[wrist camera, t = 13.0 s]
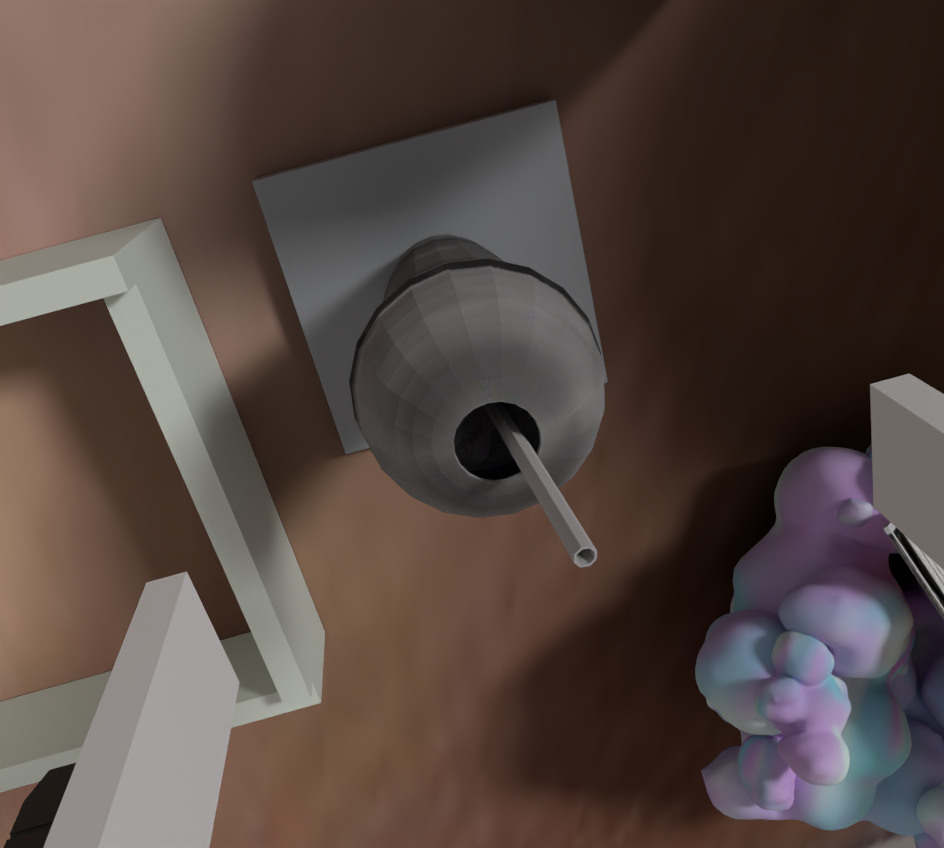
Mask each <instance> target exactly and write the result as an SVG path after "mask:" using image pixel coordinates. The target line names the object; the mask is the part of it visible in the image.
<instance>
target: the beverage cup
mask: <svg viewBox="0 0 944 848" xmlns="http://www.w3.org/2000/svg"><path fill="white" fill-rule="evenodd" d="M349 384H350V391H351V398H352V405H353V411H354V418H355V421H356V422H357V424H358V426H359V428H360V430H361V432H362V434H363V436H364V438H365V440H366V441H367V443H368V445H369V447H370V449H371V451H372V453H373V454H374V456H375V458H376V460H377V462H378V464H379V465H380V467H381V469H382V470H383V471H384V472H385V473H386V474H387V475H388V476H390V477H391V478H392V479H393V480H394V481H395V482H396V483H397V484H398V485H399V486H400V487H401V488H402V489H403V490H404V491H405V492H406V493H407V494H409V495H410V496H412V497H413V498H415V499H417V500H419V501H421V502H423V503H426V504H428V505H430V506H432V507H434V508H436V509H438V510H440V511H442V512H445V513H451V514H458V515H464V516H471V517H477V518H482V517H490V516H498V515H506V514H514V513H516V512H518V511H521V510H523V509H526V508H528V507H530V506H533V505H535V504H537V503H540V505H541V506H542V508H543V510H544V512H545V513H546V515H547V517H548V519H549V520H550V522H551V524H552V525H553V527H554V529H555V531H556V532H557V534H558V536H559V538H560V539H561V541H562V543H563V545H564V546H565V548H566V550H567V551H568V553H569V555H570V557H571V558H572V560H573V562H574V563H575V564H576V565H578V566H579V567H587V566H590V565H591V564H592V563H593V562H594V561H596V560H597V550H596V549H595V547H594V545H593V544H592V542H591V541H590V539H589V537H588V536H587V534H586V533H585V531H584V529H583V528H582V526H581V525H580V523H579V521H578V520H577V518H576V517H575V515H574V513H573V512H572V510H571V509H570V507H569V505H568V504H567V502H566V501H565V499H564V497H563V496H562V494H561V493H560V491H559V488H560V487H562V486H563V485H564V484H565V483H567V482H568V481H569V480H570V479H572V478H573V476H574V475H575V474H576V472H577V471H578V469H579V468H580V466H581V465H582V464H583V462H584V461H585V459H586V458H587V456H588V455H589V453H590V452H591V451H592V449H593V446H594V442H595V439H596V436H597V433H598V430H599V426H600V423H601V420H602V417H603V414H604V410H605V395H604V369H603V364H602V357H601V350H600V348H599V345H598V342H597V340H596V337H595V334H594V332H593V329H592V326H591V323H590V321H589V318H588V316H587V315H586V314H585V313H584V312H583V311H582V309H581V308H580V307H579V306H578V305H577V303H576V302H575V301H574V300H573V299H572V297H571V296H570V295H569V294H568V293H567V291H566V290H565V289H564V288H563V287H561V286H560V285H558V284H556V283H555V282H553V281H551V280H550V279H548V278H546V277H545V276H543V275H541V274H540V273H538V272H536V271H535V270H533V269H531V268H530V267H526V266H521V265H517V264H512V263H508V262H504V261H503V260H501V259H500V258H499V257H497V256H496V255H495V254H493V253H492V252H490V251H489V250H487V249H486V248H484V247H482V246H481V245H479V244H477V243H476V242H474V241H472V240H469V239H467V238H464V237H460V236H455V235H451V234H445V235H435V236H430V237H428V238H426V239H423V240H421V241H419V242H417V243H415V244H414V245H413V246H412V247H410V248H409V249H408V250H407V251H406V252H405V253H404V254H403V255H402V256H401V258H400V260H399V262H398V263H397V265H396V267H395V269H394V271H393V272H392V274H391V276H390V278H389V281H388V285H387V288H386V292H385V295H384V299H383V302H382V304H380V305H379V306H378V307H377V308H376V310H375V312H374V313H373V315H372V317H371V319H370V320H369V322H368V324H367V326H366V327H365V329H364V331H363V333H362V334H361V336H360V338H359V340H358V341H357V343H356V348H355V353H354V358H353V364H352V369H351V374H350V379H349Z"/></svg>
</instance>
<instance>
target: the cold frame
mask: <svg viewBox="0 0 944 848" xmlns="http://www.w3.org/2000/svg"><path fill="white" fill-rule="evenodd" d="M101 298H103V299H104V301H105V303H106V306H107V308H108V310H109V312H110V315H111V317H112V319H113V321H114V324H115V326H116V328H117V330H118V333H119V335H120V337H121V339H122V342H123V344H124V346H125V348H126V351H127V353H128V355H129V358H130V360H131V362H132V364H133V367H134V369H135V371H136V373H137V376H138V378H139V380H140V382H141V385H142V387H143V389H144V391H145V394H146V396H147V398H148V400H149V403H150V405H151V407H152V409H153V412H154V414H155V416H156V418H157V421H158V423H159V425H160V427H161V430H162V432H163V434H164V436H165V439H166V441H167V443H168V445H169V448H170V450H171V452H172V454H173V457H174V459H175V461H176V463H177V466H178V468H179V470H180V472H181V475H182V477H183V479H184V481H185V484H186V486H187V488H188V490H189V493H190V495H191V497H192V500H193V502H194V504H195V506H196V509H197V511H198V513H199V515H200V518H201V520H202V522H203V524H204V527H205V529H206V531H207V533H208V536H209V538H210V540H211V542H212V545H213V547H214V549H215V551H216V554H217V556H218V558H219V560H220V563H221V565H222V567H223V569H224V572H225V574H226V576H227V578H228V581H229V583H230V585H231V587H232V590H233V592H234V594H235V596H236V599H237V601H238V603H239V605H240V608H241V610H242V612H243V614H244V617H245V619H246V621H247V623H248V626H249V628H250V630H251V632H249V633H245V634H241V635H238V636H234V637H231V638H227V639H224V640H220V642H221V644H222V646H223V649H224V651H225V653H226V655H227V657H228V659H229V661H230V663H231V665H232V667H233V670H234V672H235V674H236V676H237V678H238V680H239V687H238V693H237V698H236V704H235V709H234V715H233V720H232V726H231V728H232V727H236V726H240V725H243V724H247V723H250V722H254V721H257V720H261V719H265V718H268V717H272V716H275V715H279V714H282V713H286V712H290V711H293V710H297V709H300V708H304V707H307V706H311V705H315V704H318V703H321V694H322V676H323V658H324V641H325V631H324V629H323V626H322V624H321V621H320V619H319V616H318V613H317V611H316V608H315V606H314V603H313V601H312V598H311V596H310V593H309V591H308V588H307V586H306V583H305V581H304V578H303V576H302V573H301V571H300V568H299V566H298V563H297V561H296V558H295V555H294V553H293V550H292V548H291V545H290V543H289V540H288V538H287V535H286V533H285V530H284V528H283V525H282V523H281V520H280V518H279V515H278V513H277V510H276V508H275V505H274V502H273V500H272V497H271V495H270V492H269V490H268V487H267V485H266V482H265V480H264V477H263V475H262V472H261V470H260V467H259V465H258V462H257V460H256V457H255V455H254V452H253V450H252V447H251V444H250V442H249V439H248V437H247V434H246V432H245V429H244V427H243V424H242V422H241V419H240V417H239V414H238V412H237V409H236V407H235V404H234V402H233V399H232V397H231V394H230V392H229V389H228V386H227V384H226V381H225V379H224V376H223V374H222V371H221V369H220V366H219V364H218V361H217V359H216V356H215V354H214V351H213V349H212V346H211V344H210V341H209V339H208V336H207V334H206V331H205V328H204V326H203V323H202V321H201V318H200V316H199V313H198V311H197V308H196V306H195V303H194V301H193V298H192V296H191V293H190V291H189V288H188V286H187V283H186V281H185V278H184V275H183V273H182V270H181V268H180V265H179V263H178V260H177V258H176V255H175V253H174V250H173V248H172V245H171V243H170V240H169V238H168V235H167V233H166V230H165V228H164V225H163V223H162V220H161V218H157V219H153V220H150V221H146V222H142V223H138V224H135V225H131V226H127V227H124V228H120V229H116V230H112V231H109V232H105V233H101V234H98V235H94V236H90V237H86V238H83V239H79V240H75V241H71V242H68V243H64V244H60V245H57V246H53V247H49V248H45V249H42V250H38V251H34V252H31V253H27V254H23V255H19V256H16V257H12V258H8V259H5V260H1V261H0V326H2V325H5V324H9V323H13V322H16V321H20V320H24V319H27V318H31V317H35V316H39V315H42V314H46V313H50V312H53V311H57V310H61V309H64V308H68V307H72V306H76V305H79V304H83V303H87V302H90V301H94V300H98V299H101ZM111 672H112V671H108V672H105V673H101V674H98V675H94V676H91V677H87V678H83V679H80V680H76V681H73V682H69V683H65V684H62V685H58V686H55V687H51V688H47V689H44V690H40V691H37V692H33V693H29V694H26V695H22V696H19V697H15V698H11V699H8V700H4V701H1V702H0V792H4V791H8V790H11V789H15V788H18V787H22V786H25V785H29V784H33V783H36V782H40V781H41V780H42V778H43V777H44V776H45V775H46V773H47V772H48V771H49V770H51V769H54V768H58V767H62V766H65V765H69V764H73V763H76V762H77V760H78V757H79V755H80V752H81V749H82V747H83V744H84V742H85V739H86V737H87V734H88V731H89V729H90V726H91V724H92V721H93V719H94V716H95V713H96V711H97V708H98V706H99V703H100V701H101V698H102V695H103V693H104V690H105V688H106V685H107V683H108V680H109V677H110V675H111Z"/></svg>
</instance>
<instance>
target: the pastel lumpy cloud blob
mask: <svg viewBox="0 0 944 848" xmlns="http://www.w3.org/2000/svg"><path fill="white" fill-rule="evenodd" d="M774 505H775V511H776V522H775V524H774V526H773V527H772V528H771V530H770V531H769V532H768V534H767V535H766V536H765V537H763V538H762V539H761V540H760V541H759V542H758V543H757V544H756V545H755V546H754V547H753V548H752V549H750V550H749V551H748V552H747V553H746V554H745V555H744V556H743V557H742V558H741V559H740V560H739V562H738V563H737V565H736V566H735V568H734V575H733V586H734V595H733V598H732V600H731V607H730V612H731V613H728V614H725V615H723V616H721V617H720V618H718V619H717V620H715V621H714V622H713V623H712V624H711V626H710V627H709V629H708V631H707V634H706V638H705V642H704V644H703V646H702V647H701V649H700V651H699V654H698V656H697V661H696V666H695V677H696V682H697V685H698V688H699V691H700V692H701V693H702V694H703V695H704V696H705V697H706V701H707V705H708V706H709V707H710V708H711V709H713V710H714V711H716V712H717V713H718V715H719V716H720V717H721V718H722V719H723V720H724V721H726V722H728V723H730V724H732V725H733V726H735V727H736V728H738V729H739V730H740V733H741V744H742V745H741V746H732V747H729V748H727V749H726V750H724V751H723V752H721V753H720V754H719V755H718V756H717V757H716V759H715V760H714V761H712V762H711V763H710V764H709V765H707V766H706V767H705V768H704V769H702V770H701V773H702V776H703V779H704V783H705V786H706V790H707V793H708V795H709V798H710V800H711V802H712V804H713V805H714V806H715V807H716V808H717V809H718V810H719V811H720V812H722V813H723V814H724V815H726V816H729V817H731V818H735V819H765V820H786V819H795V820H801V821H804V822H806V823H808V824H810V825H812V826H814V827H817V828H819V829H823V830H838V829H843V828H847V827H849V826H851V825H853V824H854V823H856V822H858V821H865V820H869V821H871V822H872V823H874V824H875V825H877V826H879V827H881V828H883V829H886V830H888V831H891V832H893V833H896V834H900V835H905V836H908V835H913V837H914V839H915V844H916V847H917V848H944V570H943V569H942V568H941V567H940V566H939V565H938V564H936V563H935V562H934V561H933V560H932V559H931V558H930V557H929V556H927V555H926V554H925V553H924V552H923V551H922V550H921V549H920V548H919V547H917V546H916V545H915V544H914V543H913V542H912V541H911V540H910V539H909V538H907V537H906V536H905V535H904V534H903V533H902V532H901V531H900V530H899V529H897V528H896V527H895V526H894V525H893V524H892V523H891V522H890V521H889V520H887V519H886V518H885V517H884V516H883V515H882V514H881V513H880V512H879V511H877V510H876V509H875V508H874V505H873V471H872V443H871V445H870V446H869V447H868V449H867V450H866V452H865V454H864V453H862V452H859V451H856V450H853V449H849V448H841V447H819V448H813V449H810V450H808V451H805V452H803V453H801V454H800V455H799V456H797V457H796V458H794V459H793V460H792V461H791V462H790V463H789V464H788V465H787V466H786V468H785V469H784V471H783V472H782V474H781V476H780V478H779V481H778V483H777V486H776V489H775V494H774ZM890 553H891V554H898V553H900V554H901V556H902V557H903V559H904V560H905V562H906V563H907V565H908V566H909V568H910V569H911V571H912V572H913V574H914V575H915V576H914V577H913V579H912V580H911V582H910V584H909V586H908V589H907V591H902V589H901V588H900V586H899V584H898V583H897V581H896V580H895V578H894V577H893V576H892V574H891V571H890V568H889V563H888V558H889V554H890Z"/></svg>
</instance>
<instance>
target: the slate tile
mask: <svg viewBox="0 0 944 848" xmlns="http://www.w3.org/2000/svg"><path fill="white" fill-rule="evenodd" d="M252 183H253V186H254V189H255V192H256V195H257V198H258V201H259V204H260V207H261V210H262V213H263V215H264V218H265V221H266V224H267V227H268V230H269V233H270V236H271V239H272V242H273V245H274V247H275V250H276V253H277V256H278V259H279V262H280V265H281V268H282V271H283V274H284V276H285V279H286V282H287V285H288V288H289V291H290V294H291V297H292V300H293V303H294V306H295V308H296V311H297V314H298V317H299V320H300V323H301V326H302V329H303V332H304V335H305V338H306V340H307V343H308V346H309V349H310V352H311V355H312V358H313V361H314V364H315V367H316V370H317V372H318V375H319V378H320V381H321V384H322V387H323V390H324V393H325V396H326V399H327V402H328V404H329V407H330V410H331V413H332V416H333V419H334V422H335V425H336V428H337V431H338V433H339V436H340V439H341V442H342V445H343V448H344V451H345V454H349V453H353V452H356V451H360V450H364V449H367V448H370V447H369V445H368V443H367V441H366V440H365V438H364V436H363V434H362V432H361V430H360V428H359V426H358V424H357V422H356V421H355V418H354V411H353V405H352V398H351V391H350V384H349V379H350V374H351V369H352V364H353V358H354V353H355V348H356V343H357V341H358V340H359V338H360V336H361V334H362V333H363V331H364V329H365V327H366V326H367V324H368V322H369V320H370V319H371V317H372V315H373V313H374V312H375V310H376V308H377V307H378V306H379V305H380V304H382V302H383V299H384V295H385V292H386V288H387V285H388V281H389V278H390V276H391V274H392V272H393V271H394V269H395V267H396V265H397V263H398V262H399V260H400V258H401V256H402V255H403V254H404V253H405V252H406V251H407V250H408V249H409V248H410V247H412V246H413V245H414V244H415V243H417V242H419V241H421V240H423V239H426V238H428V237H430V236H435V235H445V234H451V235H455V236H460V237H464V238H467V239H469V240H472V241H474V242H476V243H477V244H479V245H481V246H482V247H484V248H486V249H487V250H489V251H490V252H492V253H493V254H495V255H496V256H497V257H499V258H500V259H501V260H503V261H504V262H508V263H512V264H517V265H521V266H526V267H530V268H531V269H533V270H535V271H536V272H538V273H540V274H541V275H543V276H545V277H546V278H548V279H550V280H551V281H553V282H555V283H556V284H558V285H560V286H561V287H563V288H564V289H565V290H566V291H567V293H568V294H569V295H570V296H571V297H572V299H573V300H574V301H575V302H576V303H577V305H578V306H579V307H580V308H581V309H582V311H583V312H584V313H585V314H586V315H587V316H588V318H589V321H590V323H591V326H592V329H593V332H594V334H595V337H596V340H597V342H598V345H599V348H600V350H601V357H602V364H603V369H604V383H607V382H608V380H607V374H606V369H605V364H604V358H603V353H602V347H601V342H600V337H599V331H598V326H597V320H596V315H595V310H594V304H593V299H592V293H591V288H590V283H589V277H588V272H587V266H586V261H585V256H584V250H583V245H582V239H581V234H580V229H579V223H578V218H577V212H576V207H575V202H574V196H573V191H572V185H571V180H570V175H569V169H568V164H567V158H566V153H565V148H564V142H563V137H562V131H561V126H560V121H559V115H558V110H557V104H556V100H553V99H548V100H545V101H541V102H537V103H533V104H530V105H526V106H522V107H519V108H515V109H511V110H507V111H504V112H500V113H496V114H492V115H489V116H485V117H481V118H478V119H474V120H470V121H466V122H463V123H459V124H455V125H452V126H448V127H444V128H440V129H437V130H433V131H429V132H425V133H422V134H418V135H414V136H411V137H407V138H403V139H399V140H396V141H392V142H388V143H384V144H381V145H377V146H373V147H370V148H366V149H362V150H358V151H355V152H351V153H347V154H344V155H340V156H336V157H332V158H329V159H325V160H321V161H317V162H314V163H310V164H306V165H303V166H299V167H295V168H291V169H288V170H284V171H280V172H276V173H273V174H269V175H265V176H262V177H258V178H255V179H254V180H253V181H252Z"/></svg>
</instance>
